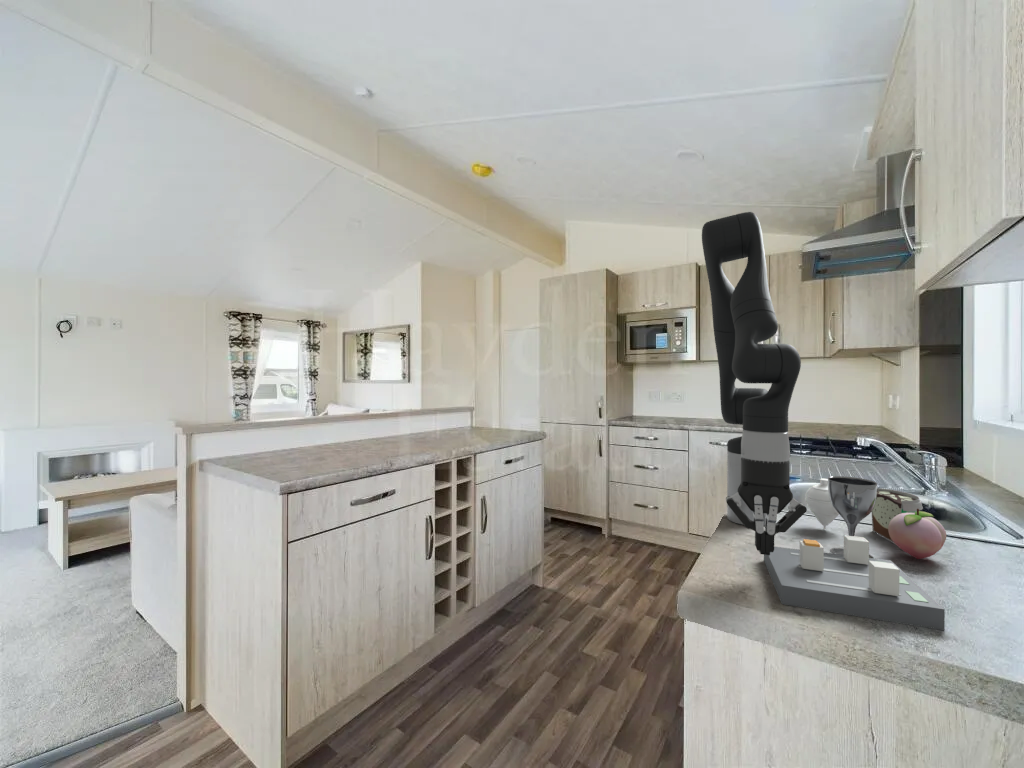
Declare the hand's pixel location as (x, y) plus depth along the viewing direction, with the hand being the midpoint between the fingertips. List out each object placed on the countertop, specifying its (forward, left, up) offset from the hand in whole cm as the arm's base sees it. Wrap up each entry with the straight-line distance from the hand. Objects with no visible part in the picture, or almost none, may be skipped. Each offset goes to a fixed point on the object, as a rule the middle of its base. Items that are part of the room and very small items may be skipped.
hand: (764, 553), depth 79 cm
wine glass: (-19, +18, -5) cm, 27 cm away
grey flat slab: (0, +11, -5) cm, 12 cm away
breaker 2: (+6, +15, -2) cm, 16 cm away
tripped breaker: (0, +7, -2) cm, 7 cm away
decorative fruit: (-21, +29, -5) cm, 36 cm away
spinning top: (-34, +17, -5) cm, 39 cm away
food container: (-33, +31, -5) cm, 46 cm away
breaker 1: (-6, +15, -2) cm, 17 cm away
